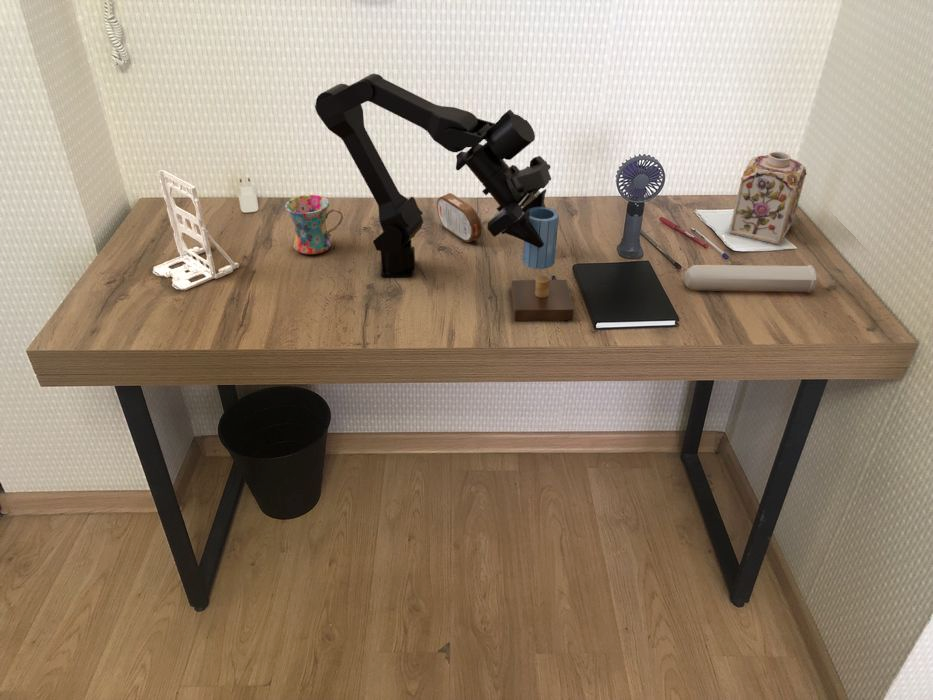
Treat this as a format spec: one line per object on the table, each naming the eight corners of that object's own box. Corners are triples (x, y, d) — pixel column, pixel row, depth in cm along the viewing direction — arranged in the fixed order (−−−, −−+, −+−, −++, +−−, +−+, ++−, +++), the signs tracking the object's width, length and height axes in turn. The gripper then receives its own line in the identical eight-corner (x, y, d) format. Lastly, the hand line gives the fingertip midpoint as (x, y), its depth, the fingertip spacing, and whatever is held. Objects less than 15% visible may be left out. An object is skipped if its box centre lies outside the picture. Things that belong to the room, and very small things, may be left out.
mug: (288, 258, 158) (281, 213, 152) (296, 238, 166) (289, 194, 159) (343, 258, 158) (338, 213, 152) (349, 238, 166) (344, 194, 159)
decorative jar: (792, 226, 170) (813, 152, 160) (780, 246, 162) (802, 169, 152) (740, 214, 175) (758, 141, 165) (726, 233, 167) (744, 157, 157)
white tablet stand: (147, 269, 154) (121, 180, 142) (206, 246, 162) (185, 160, 151) (183, 293, 146) (158, 201, 134) (242, 268, 154) (223, 179, 143)
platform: (514, 321, 138) (516, 294, 135) (511, 290, 147) (512, 264, 143) (572, 320, 138) (575, 293, 135) (565, 290, 147) (567, 264, 144)
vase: (525, 269, 137) (528, 221, 131) (521, 254, 142) (523, 206, 136) (556, 268, 137) (561, 220, 131) (551, 253, 142) (555, 206, 136)
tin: (482, 245, 163) (483, 210, 158) (471, 249, 161) (471, 214, 156) (446, 220, 173) (445, 187, 168) (435, 224, 171) (434, 190, 166)
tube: (689, 278, 143) (818, 280, 142) (685, 258, 146) (812, 260, 145) (683, 296, 147) (808, 297, 146) (679, 276, 150) (802, 277, 149)
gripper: (506, 166, 121) (564, 239, 124) (541, 131, 135) (593, 196, 138) (462, 202, 128) (518, 269, 131) (500, 165, 142) (550, 226, 145)
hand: (547, 239), depth 136 cm, fingers closed on vase, 6 cm apart
